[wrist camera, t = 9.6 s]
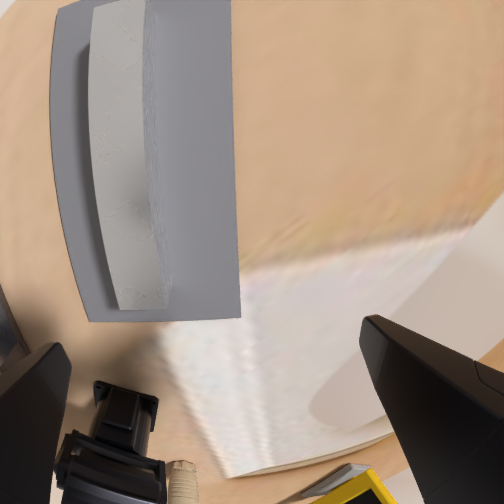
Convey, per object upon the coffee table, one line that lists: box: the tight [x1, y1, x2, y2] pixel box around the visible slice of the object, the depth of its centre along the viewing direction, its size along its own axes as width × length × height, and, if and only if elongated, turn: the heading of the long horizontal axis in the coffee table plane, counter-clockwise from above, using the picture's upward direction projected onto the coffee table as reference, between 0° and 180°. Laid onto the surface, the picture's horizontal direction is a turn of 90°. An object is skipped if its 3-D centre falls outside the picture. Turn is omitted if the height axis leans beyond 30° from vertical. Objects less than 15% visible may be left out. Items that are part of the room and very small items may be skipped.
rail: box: [88, 0, 173, 310], centre depth 14 cm, size 18×3×3 cm, turn 2°
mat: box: [50, 0, 241, 322], centre depth 16 cm, size 24×12×1 cm, turn 2°
